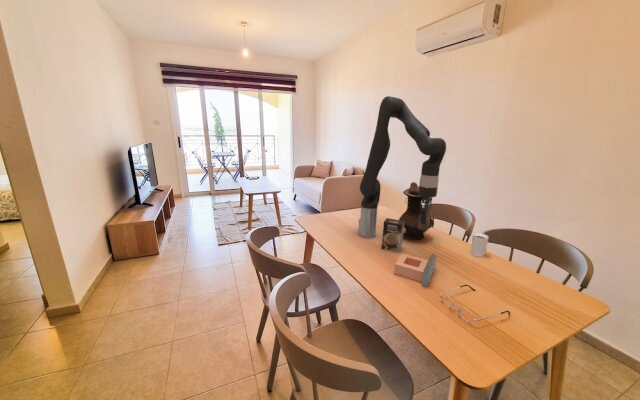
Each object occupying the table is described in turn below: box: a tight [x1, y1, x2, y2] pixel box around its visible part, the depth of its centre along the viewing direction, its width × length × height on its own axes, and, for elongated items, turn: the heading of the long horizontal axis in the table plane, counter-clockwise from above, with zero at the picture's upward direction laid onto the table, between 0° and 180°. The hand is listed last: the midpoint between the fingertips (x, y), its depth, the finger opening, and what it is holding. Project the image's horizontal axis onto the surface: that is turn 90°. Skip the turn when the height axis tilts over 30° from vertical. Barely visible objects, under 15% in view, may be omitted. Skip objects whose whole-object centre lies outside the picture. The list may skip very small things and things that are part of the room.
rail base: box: [421, 253, 437, 288], centre depth 112 cm, size 24×16×8 cm, turn 57°
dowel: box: [418, 203, 433, 231], centre depth 118 cm, size 4×4×12 cm
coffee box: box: [381, 217, 405, 253], centre depth 131 cm, size 9×6×16 cm
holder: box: [393, 253, 429, 283], centre depth 111 cm, size 11×11×4 cm
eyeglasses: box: [440, 284, 511, 323], centre depth 91 cm, size 16×19×5 cm
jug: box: [398, 181, 435, 241], centre depth 146 cm, size 21×18×30 cm
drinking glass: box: [470, 232, 489, 258], centre depth 129 cm, size 7×7×10 cm
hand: (424, 221), depth 118 cm, fingers closed on dowel, 4 cm apart
